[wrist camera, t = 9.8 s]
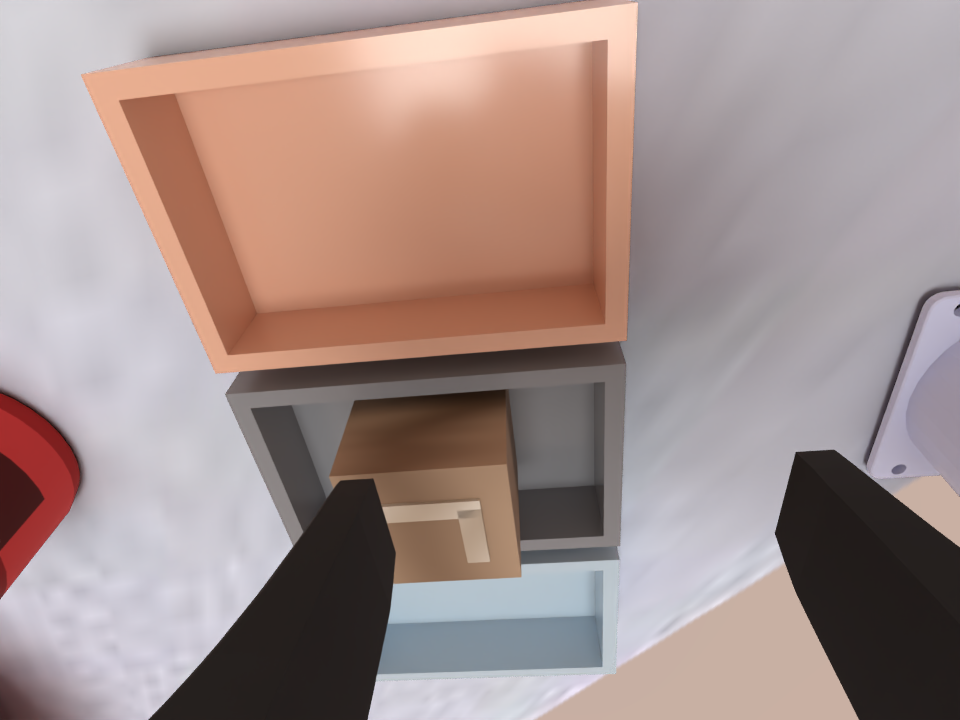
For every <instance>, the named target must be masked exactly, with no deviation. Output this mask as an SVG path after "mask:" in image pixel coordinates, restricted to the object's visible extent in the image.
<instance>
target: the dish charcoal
mask: <svg viewBox="0 0 960 720" xmlns="http://www.w3.org/2000/svg"><path fill="white" fill-rule="evenodd" d="M625 379H626V362H625V359H624V356H623V353H622V350H621V347H620V344H619V341H616V342H603V343H591V344H578V345H566V346H553V347H541V348H528V349H516V350H503V351H491V352H478V353H466V354H453V355H441V356H428V357H416V358H403V359H391V360H378V361H366V362H353V363H341V364H328V365H316V366H303V367H291V368H278V369H266V370H253V371H241V372H239V374H238V375H237V377H236V379H235V380H234V382H233V383H232V385H231V386H230V388H229V389H228V391H227V392H226V394H225V395H226V397H227V400H228V402H229V404H230V406H231V408H232V411H233V413H234V415H235V417H236V420H237V422H238V424H239V426H240V428H241V431H242V433H243V435H244V437H245V440H246V442H247V444H248V446H249V448H250V451H251V453H252V455H253V457H254V459H255V462H256V464H257V466H258V468H259V471H260V473H261V475H262V477H263V479H264V482H265V484H266V486H267V488H268V490H269V493H270V495H271V497H272V499H273V502H274V504H275V506H276V508H277V510H278V513H279V515H280V517H281V519H282V522H283V524H284V526H285V528H286V530H287V533H288V535H289V537H290V539H291V541H292V544H293V546H294V545H295V543H296V542H297V541H298V539H299V538H300V536H301V535H302V533H303V532H304V531H305V529H306V528H307V526H308V525H309V523H310V522H311V521H312V519H313V518H314V516H315V515H316V513H317V512H318V510H319V509H320V507H321V506H322V505H323V503H324V502H325V500H326V499H327V497H328V496H329V494H330V493H331V491H332V490H333V486H332V483H331V481H330V478H329V475H330V472H331V469H332V466H333V463H334V460H335V457H336V454H337V451H338V448H339V445H340V442H341V439H342V436H343V433H344V430H345V427H346V424H347V421H348V418H349V415H350V412H351V409H352V406H353V403H354V401H355V400H368V399H382V398H395V397H409V396H422V395H436V394H449V393H463V392H476V391H489V390H503V389H508V390H509V399H510V407H511V416H512V424H513V432H514V441H515V449H516V458H517V466H518V493H519V520H520V547H521V551H531V550H551V549H571V548H591V547H611V546H620V531H621V501H622V470H623V440H624V409H625Z"/></svg>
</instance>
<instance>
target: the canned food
mask: <svg viewBox="0 0 960 720" xmlns="http://www.w3.org/2000/svg"><path fill="white" fill-rule="evenodd" d="M79 481H80V472H79V468H78V463H77V460H76V458H75V456H74V454H73V452H72V450H71V448H70V447H69V445H68V444H67V443H66V441H65V440H64V439H63V437H62V436H61V435H60V433H59V432H58V431H57V430H56V429H55V428H54V427H53V426H52V425H51V424H50V423H49V422H48V421H47V420H45V419H44V418H43V417H41V416H40V415H39V414H37V413H36V412H35V411H33V410H32V409H30V408H29V407H27V406H25V405H23V404H22V403H20V402H18V401H17V400H15V399H13V398H11V397H8V396H6V395H4V394H1V393H0V599H1V597H2V596H3V595H4V594H5V592H6V591H7V590H8V589H9V587H10V586H11V585H12V583H13V582H14V581H15V580H16V578H17V577H18V576H19V575H20V573H21V572H22V571H23V569H24V568H25V567H26V566H27V564H28V563H29V562H30V561H31V559H32V558H33V557H34V555H35V554H36V553H37V552H38V550H39V549H40V548H41V547H42V545H43V544H44V543H45V541H46V540H47V539H48V538H49V536H50V535H51V534H52V533H53V531H54V530H55V529H56V527H57V526H58V525H59V524H60V522H61V521H62V520H63V519H64V517H65V516H66V515H67V513H68V512H69V511H70V508H71V506H72V503H73V501H74V498H75V495H76V492H77V489H78V487H79Z"/></svg>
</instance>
